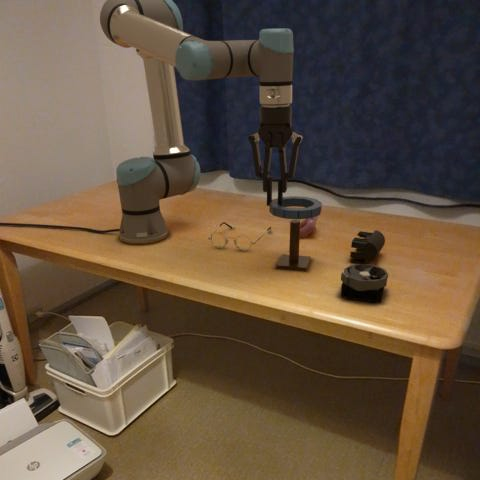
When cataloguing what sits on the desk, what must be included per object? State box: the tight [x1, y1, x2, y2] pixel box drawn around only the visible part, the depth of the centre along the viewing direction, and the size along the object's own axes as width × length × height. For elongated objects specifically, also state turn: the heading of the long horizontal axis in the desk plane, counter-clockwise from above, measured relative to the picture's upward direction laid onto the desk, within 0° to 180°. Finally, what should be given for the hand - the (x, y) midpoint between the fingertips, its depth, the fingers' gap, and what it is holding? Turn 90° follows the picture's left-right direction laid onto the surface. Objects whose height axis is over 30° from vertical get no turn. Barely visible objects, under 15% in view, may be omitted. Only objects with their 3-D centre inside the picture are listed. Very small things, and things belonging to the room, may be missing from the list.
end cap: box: [349, 229, 386, 265], centre depth 131 cm, size 10×7×7 cm
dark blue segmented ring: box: [268, 195, 323, 220], centre depth 123 cm, size 13×13×2 cm
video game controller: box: [300, 216, 319, 239], centre depth 150 cm, size 10×5×7 cm, turn 168°
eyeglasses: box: [208, 221, 272, 252], centre depth 147 cm, size 16×19×5 cm
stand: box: [276, 219, 312, 272], centre depth 128 cm, size 8×8×12 cm
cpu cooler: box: [340, 263, 389, 303], centre depth 113 cm, size 10×6×10 cm
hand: (274, 204), depth 124 cm, fingers closed on dark blue segmented ring, 2 cm apart
